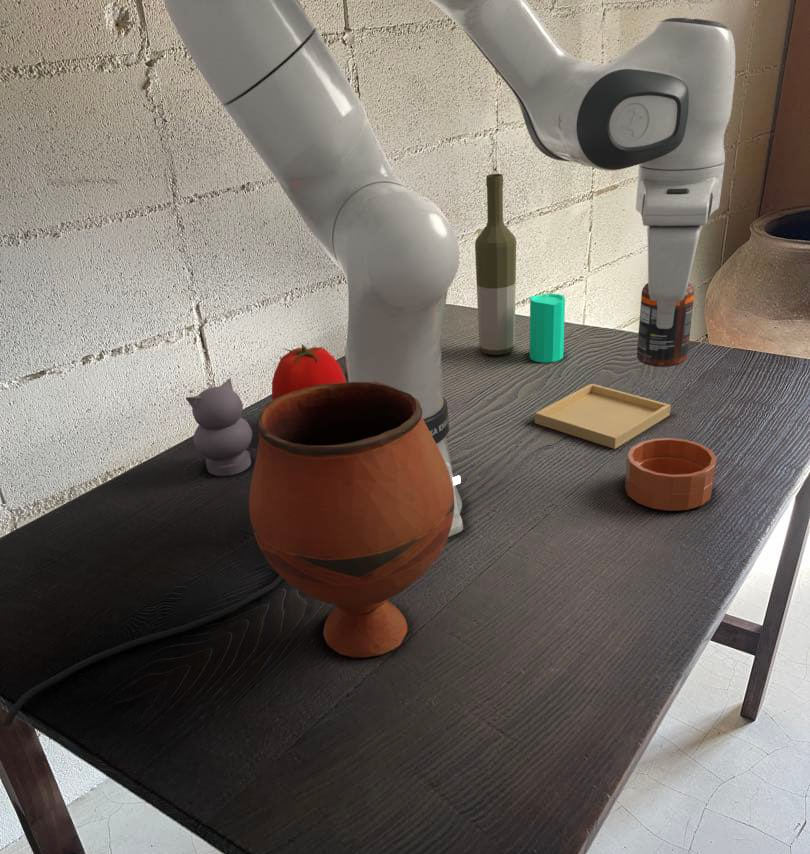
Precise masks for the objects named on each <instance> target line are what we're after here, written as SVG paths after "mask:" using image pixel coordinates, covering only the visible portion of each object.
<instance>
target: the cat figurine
mask: <svg viewBox="0 0 810 854" xmlns="http://www.w3.org/2000/svg"><path fill="white" fill-rule="evenodd" d="M185 400H186V401H187V403H188V404H189V405H190V407H191V408H192V409H191V411H192V417H193V418H194V421H195V422H196V424H198V425H197V427H196V428H195V431H194V433H193V438H192V441H193V442H192V443H193V444H194V447H195V450H196V451H197V453H198V454H200V455H202V456H203V457H204V458H205V465H206V470H207V472H208V473H209V474H211V475H214V476H218V477H226V476H233V475H237V474H239V473H242V472H244V471H246V470H248V469H249V468H250V466H251V464H252V460H251V453H250V452H249V450H247V449H248V447H249V446H250V445H251V442H252V440H253V439H252V438H253V430H252V427H251V426H250V424H249V422H248V421H247V420H246V419H244V418H243V417H242V414H243V411H244V404H243V401H242V399H241V397H240V396H239V394H238V392H237V391H234V390H233V385H232V380H231V378H228V379H227V380H226V381H224V382H223V383H222V384H220V386H212V387H209V388H205V389H204V390H202V391H201V392H199V394H198V395H195V396H194V395H193V396H187V397H185Z"/></svg>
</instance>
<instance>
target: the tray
mask: <svg viewBox="0 0 810 854" xmlns="http://www.w3.org/2000/svg"><path fill="white" fill-rule="evenodd" d="M671 406H672V405H671V404H668V403H665V402H662V401H658V400H654V399H650V398H648V397H647V398H646V397H642V396H639V395H637V394H636V395H635V394H632V393H628V392H625V391H621V390H617V389H613V388H610V387H606V386H603V385H599V384H595V383H589V384H588V385H585V386H584V387H582V388H579V389H577V390H576V391H575V392H572V393H570V394H568V395H567V396H565V397H563V398H561V399H558V400H557V401H555V402H553V403H551V404H549V405H547V406H545V407H544V408H542V409H540V410H537V411H535V413H534V424H536V425H539V426H543V427H546V428H548V429H552V430H555V431H558V432H562V433H564V434H567V435H570V436H573V437H576V438H580V439H582V440H586V441H589V442H592V443H595V444H597V445H601V446H605V447H608V448H610V449H613V450H616V449H617V448H619V447H620V446H622V445H623V444H626V443H627V442H629V441H631V440H632V439H634V438H635V437H637V436H639V435H640V434H642V433H643V432H645V431H647V430H648V429H650V428H652V427H653V426H655V425H656V424H658V423H659V422H661V421H664V419H667V418H668V417H669V416H670V415H671V408H672V407H671Z"/></svg>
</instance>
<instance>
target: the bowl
mask: <svg viewBox="0 0 810 854" xmlns="http://www.w3.org/2000/svg"><path fill="white" fill-rule="evenodd" d="M717 460H718V458H717V456H716V455H715V453H714V452H713V450H712V449H710V448H709V447H707V446H705V445H704V444H702V443H700V442H696V441H692V440H689V439H683V438H674V437H661V438H659V437H658V438H652V439H647V440H643V441H640V442H638V443H636V444H635V445H633V446H632V447H630V449H629V451H628V453H627V456H626V465H625V466H626V467H625V479H624V480H625V482H624V489H625V491H626V494H627V496H628V497H629V498H630V499H632V500H633V501H635V503H637V504H639V505H642V506H645V507H647V508H650V509H655V510H659V511H668V512H669V511H670V512H674V511H675V512H679V511H688V510H692V509H696V508H699V507H701V506H704V505H705V504H706V503H707V502H709V501H710V500H711V497H712V493H713V488H714V481H715V473H716V468H717Z"/></svg>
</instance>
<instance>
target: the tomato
mask: <svg viewBox="0 0 810 854" xmlns="http://www.w3.org/2000/svg"><path fill="white" fill-rule="evenodd" d="M324 347H326V346H325V345H324V346H320V347H317V346H312V347H309V348H307V347H306V346H305V345H304V344H303V343H301V347H296V348H293V349H292V350H291V349H288V348H284V350H285V351H287V353H285V354H284V355H283V356H282V357H281V358H280V360H279V362H278V363H277V366H276V368H275V371H274V373H273V377H272V381H271V401H272V400H274V399H275V398H278V397H280V396H283V395H285V394H288V393H290V392H293V391H297V390H301V389H304V388H308V387H312V386H315V385H321V384H329V383H345V382H346V376H345V374H344V372H343V369H342V367H341V366H340V364H339V363H338V361H337V359H336V358H335V357H334V356H333V355H332V354H330V352H329V351H328V350H327V349H326V348H324Z"/></svg>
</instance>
